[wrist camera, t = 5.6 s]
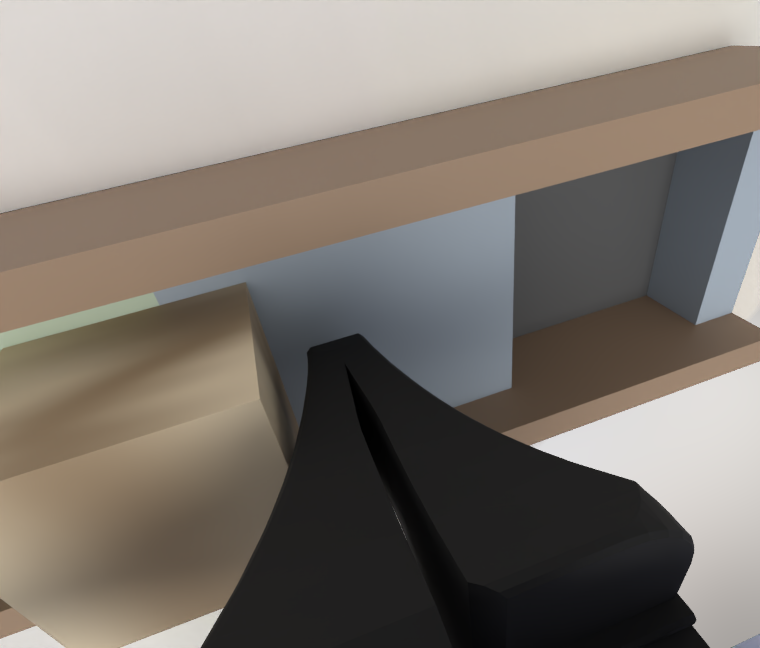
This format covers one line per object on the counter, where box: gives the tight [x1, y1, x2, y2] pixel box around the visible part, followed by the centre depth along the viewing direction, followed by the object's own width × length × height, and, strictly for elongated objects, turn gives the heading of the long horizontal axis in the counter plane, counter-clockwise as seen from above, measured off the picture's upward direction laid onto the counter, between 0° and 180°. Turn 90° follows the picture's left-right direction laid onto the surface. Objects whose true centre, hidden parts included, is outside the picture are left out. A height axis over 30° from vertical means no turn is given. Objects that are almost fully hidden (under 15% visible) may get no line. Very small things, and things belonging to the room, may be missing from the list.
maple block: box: [0, 282, 299, 648], centre depth 10 cm, size 5×5×4 cm
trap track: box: [0, 46, 760, 639], centre depth 12 cm, size 31×9×4 cm, turn 99°
